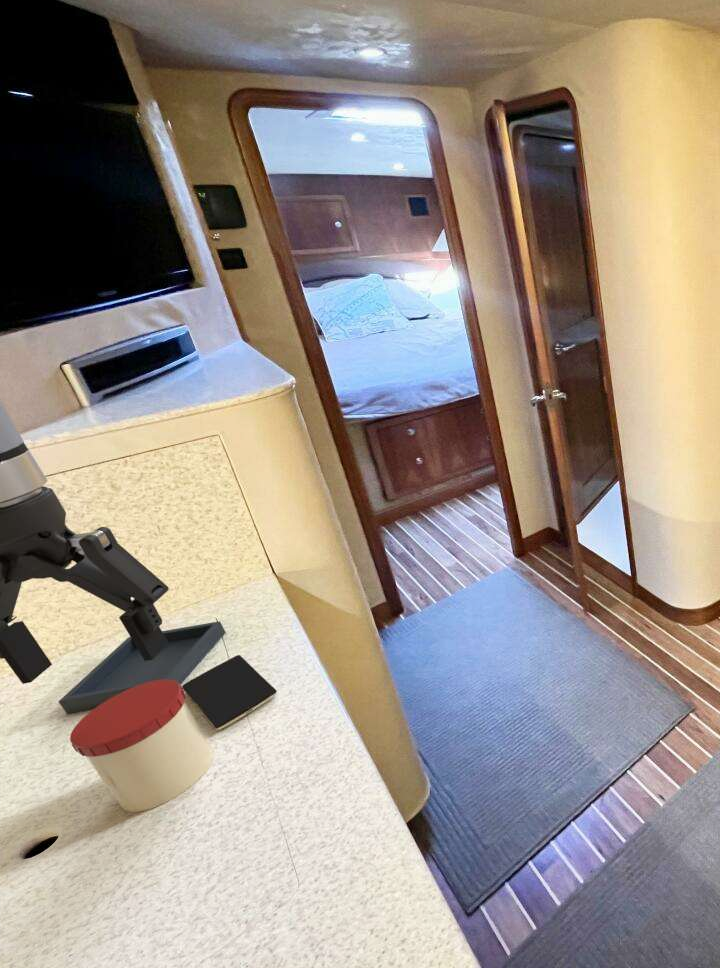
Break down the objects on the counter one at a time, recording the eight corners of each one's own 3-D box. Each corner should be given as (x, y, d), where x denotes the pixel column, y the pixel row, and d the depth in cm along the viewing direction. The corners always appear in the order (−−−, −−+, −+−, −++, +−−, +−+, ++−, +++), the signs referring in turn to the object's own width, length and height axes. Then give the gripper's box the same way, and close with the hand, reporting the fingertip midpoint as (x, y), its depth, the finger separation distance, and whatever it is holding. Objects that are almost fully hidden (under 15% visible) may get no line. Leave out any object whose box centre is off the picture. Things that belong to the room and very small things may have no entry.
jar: (100, 821, 65) (51, 755, 61) (153, 754, 73) (114, 692, 69) (186, 801, 67) (145, 736, 62) (229, 738, 75) (195, 676, 71)
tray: (66, 714, 80) (57, 701, 79) (135, 648, 92) (128, 636, 91) (173, 693, 83) (165, 681, 82) (226, 632, 95) (220, 620, 94)
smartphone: (216, 728, 75) (180, 685, 83) (219, 734, 75) (183, 690, 83) (277, 690, 81) (238, 653, 88) (280, 696, 81) (241, 658, 89)
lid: (52, 766, 61) (44, 755, 60) (118, 698, 70) (112, 688, 69) (151, 745, 63) (144, 735, 62) (203, 682, 71) (198, 672, 71)
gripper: (-206, 539, 49) (-62, 713, 57) (101, 499, 53) (193, 664, 62) (-109, 500, 55) (6, 660, 64) (156, 467, 60) (232, 620, 68)
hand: (98, 662), depth 63 cm, fingers open, 11 cm apart
